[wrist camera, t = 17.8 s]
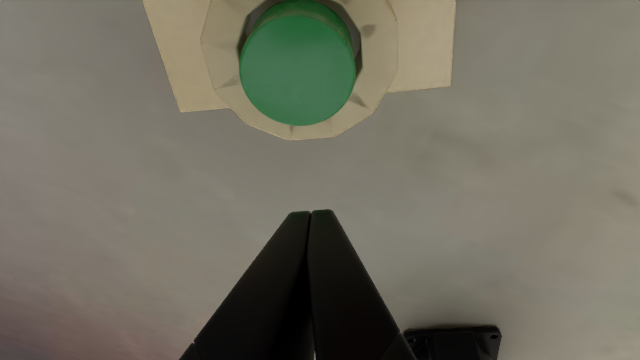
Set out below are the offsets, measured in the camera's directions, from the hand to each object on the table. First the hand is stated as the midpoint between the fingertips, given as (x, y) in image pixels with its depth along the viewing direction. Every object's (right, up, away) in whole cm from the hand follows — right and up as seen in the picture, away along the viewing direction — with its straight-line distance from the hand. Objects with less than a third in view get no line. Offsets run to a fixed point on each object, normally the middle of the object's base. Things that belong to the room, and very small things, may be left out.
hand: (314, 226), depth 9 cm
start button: (-1, +5, +6) cm, 8 cm away
